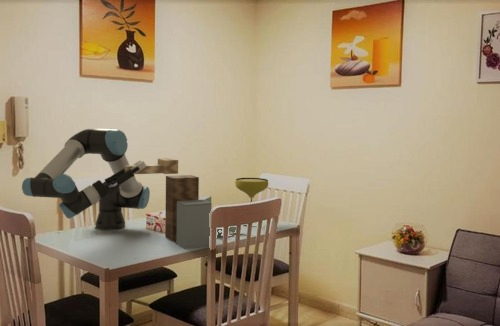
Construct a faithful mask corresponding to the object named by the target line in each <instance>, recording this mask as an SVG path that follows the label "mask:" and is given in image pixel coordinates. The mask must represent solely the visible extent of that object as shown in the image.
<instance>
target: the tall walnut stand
mask: <svg viewBox="0 0 500 326" xmlns="http://www.w3.org/2000/svg"><path fill="white" fill-rule="evenodd" d="M199 186H200V177H199V176H195V175H192V174H183V175H182V174H181V175H178V174H177V175H165V217H164V218H165V222H164V223H165V228H164V230H165V234H164V235H165V236H164V237H165V238H166V239H168V240H170V241H171V242H176V236H177V201H187V200H199V197H200V196H199V190H200V187H199Z"/></svg>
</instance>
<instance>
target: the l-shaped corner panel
mask: <svg viewBox="0 0 500 326" xmlns="http://www.w3.org/2000/svg"><path fill="white" fill-rule="evenodd" d="M219 230H221V231H222V229H217V232H218V231H219ZM235 230H236V227H230V228H229V235H233V236H234V234H235V233H233V232H235ZM221 234H222V232H221Z"/></svg>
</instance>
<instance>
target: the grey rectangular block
mask: <svg viewBox="0 0 500 326" xmlns="http://www.w3.org/2000/svg"><path fill="white" fill-rule="evenodd" d="M212 204H213V203H212V201H211V202H208V201H205V200H187V201H177V236H176V241H175V242H176V245H178V246H180V247H181V248H183V249H193V248H201V247H210V246H209V236H210V227H209V213H210V211H211V208H213V207H212Z"/></svg>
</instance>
